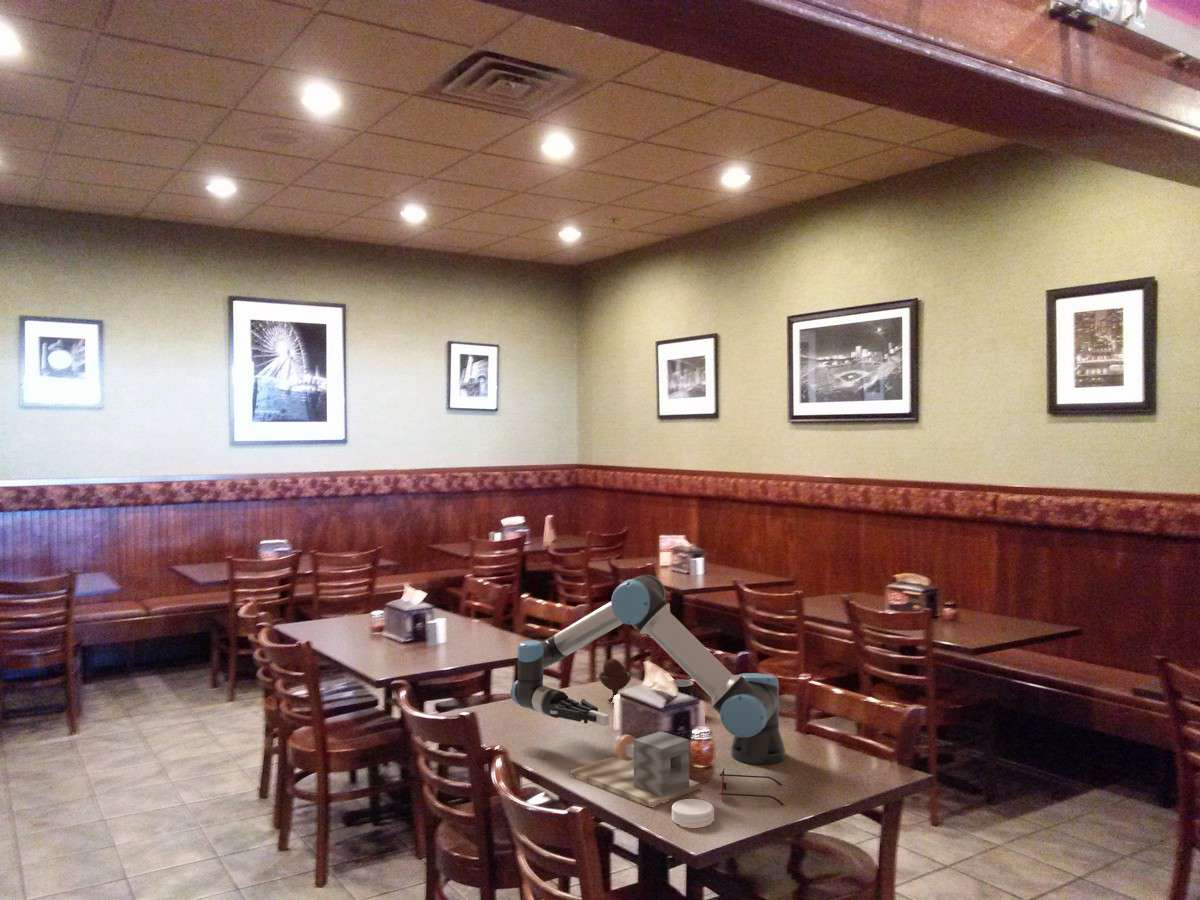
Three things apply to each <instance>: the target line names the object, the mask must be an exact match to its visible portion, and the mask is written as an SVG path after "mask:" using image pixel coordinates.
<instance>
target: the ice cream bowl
mask: <svg viewBox="0 0 1200 900" xmlns="http://www.w3.org/2000/svg"><path fill="white" fill-rule="evenodd" d="M598 676H599V680H600V682H601V684H602V685H603V686H604V687H605V688H607V689H609V690H610V691H611V692H612V696H611V697H610V698H609V699H608V700H607V701H609V702H610V703H611V702H612V700H613V697H614V695H616V694H617V693H619V691H620V690H622V689H623V688H625V687H626V686H627V685H628V684H629V683H630V681H631V678H632V674H631V673H630V672H629V671H626V668H625V666H624V665H623V664H622V663H621V662H620V661H619V660H618V659H616V658H610V659H607V660H606V661H605V662H604V664H603V669H602V672H601V673H599V674H598ZM610 703H609V704H610Z"/></svg>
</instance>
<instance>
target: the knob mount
mask: <svg viewBox="0 0 1200 900" xmlns="http://www.w3.org/2000/svg"><path fill="white" fill-rule="evenodd" d="M571 775H572V776H574V777H573V778H575V777H577V778H579V779H578V780H580V779H581V780H580V781H582V780H583V782H585V781H587V782H590V783H591V784H590V783H589V784H590V785H592V784H594V785H593V786H595V785H597V786H599V787H598V788H600V787H602V788H604V789H603V790H605V789H607V790H609V791H608V792H610V791H612V792H614V793H613V794H615V793H616V794H615V795H617V794H619V795H618V796H620V795H621V796H620V797H622V796H624V797H623V798H625V797H627V798H629V799H628V800H630V799H632V800H635V801H638V802H640V803H643V804H645V805H647V806H650V807H652V806H655V805H657V804H660V803H662V802H664V801H667V800H670V799H673V798H675V799H677V798H676V797H678V798H680V797H683V796H685V794H686V795H688V794H691V793H693V792H695V790H696V791H698V790H700V789H701V783H700V782H698V781H696V780H693V779H690V740H689V739H687V738H684V737H681V736H678V735H674V734H673V733H672V734H670V733H667V732H665V731H662V730H661V731H660V730H659V731H657V732H653V733H649V734H647V735H643V736H641V737H637V738H636V739H634V758H633V759H632V760H630V761H625V760H623V759H620V758H619V757H618V756H617V754H615V755H613V756H611V757H607V758H604V759H601V760H597V761H594V762H592V763H589V764H586V765H583V766H580V767H575V768H574V769H570V776H571ZM572 776H571V777H572ZM577 778H576V779H577ZM587 782H586V783H587ZM597 786H596V787H597ZM602 788H601V789H602ZM607 790H606V791H607ZM692 791H693V792H692ZM612 792H611V793H612ZM690 792H691V793H690ZM687 793H688V794H687ZM682 795H683V796H682ZM679 796H680V797H679ZM627 798H626V799H627ZM632 800H631V801H632ZM673 800H674V799H673ZM635 801H634V802H635ZM670 801H671V800H670ZM640 803H639V804H640ZM645 805H644V806H645ZM660 805H661V804H660ZM647 806H646V807H647ZM650 807H649V808H650ZM655 807H656V806H655Z"/></svg>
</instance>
